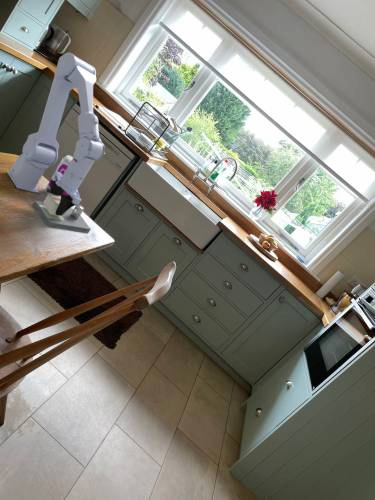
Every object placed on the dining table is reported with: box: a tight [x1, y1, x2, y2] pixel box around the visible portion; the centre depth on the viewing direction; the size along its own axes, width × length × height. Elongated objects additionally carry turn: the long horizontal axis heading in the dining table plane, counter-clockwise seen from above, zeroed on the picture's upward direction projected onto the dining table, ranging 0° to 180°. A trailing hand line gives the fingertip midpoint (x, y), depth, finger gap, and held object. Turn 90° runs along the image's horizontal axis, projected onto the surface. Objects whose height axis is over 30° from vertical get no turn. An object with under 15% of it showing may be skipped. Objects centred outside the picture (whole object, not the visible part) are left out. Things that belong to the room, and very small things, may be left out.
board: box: [32, 200, 91, 234], centre depth 124 cm, size 11×16×2 cm
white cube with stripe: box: [42, 193, 69, 217], centre depth 119 cm, size 5×5×4 cm
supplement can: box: [45, 154, 74, 196], centre depth 133 cm, size 8×8×15 cm
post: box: [70, 203, 85, 220], centre depth 127 cm, size 3×3×4 cm
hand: (54, 208), depth 120 cm, fingers closed on white cube with stripe, 5 cm apart
